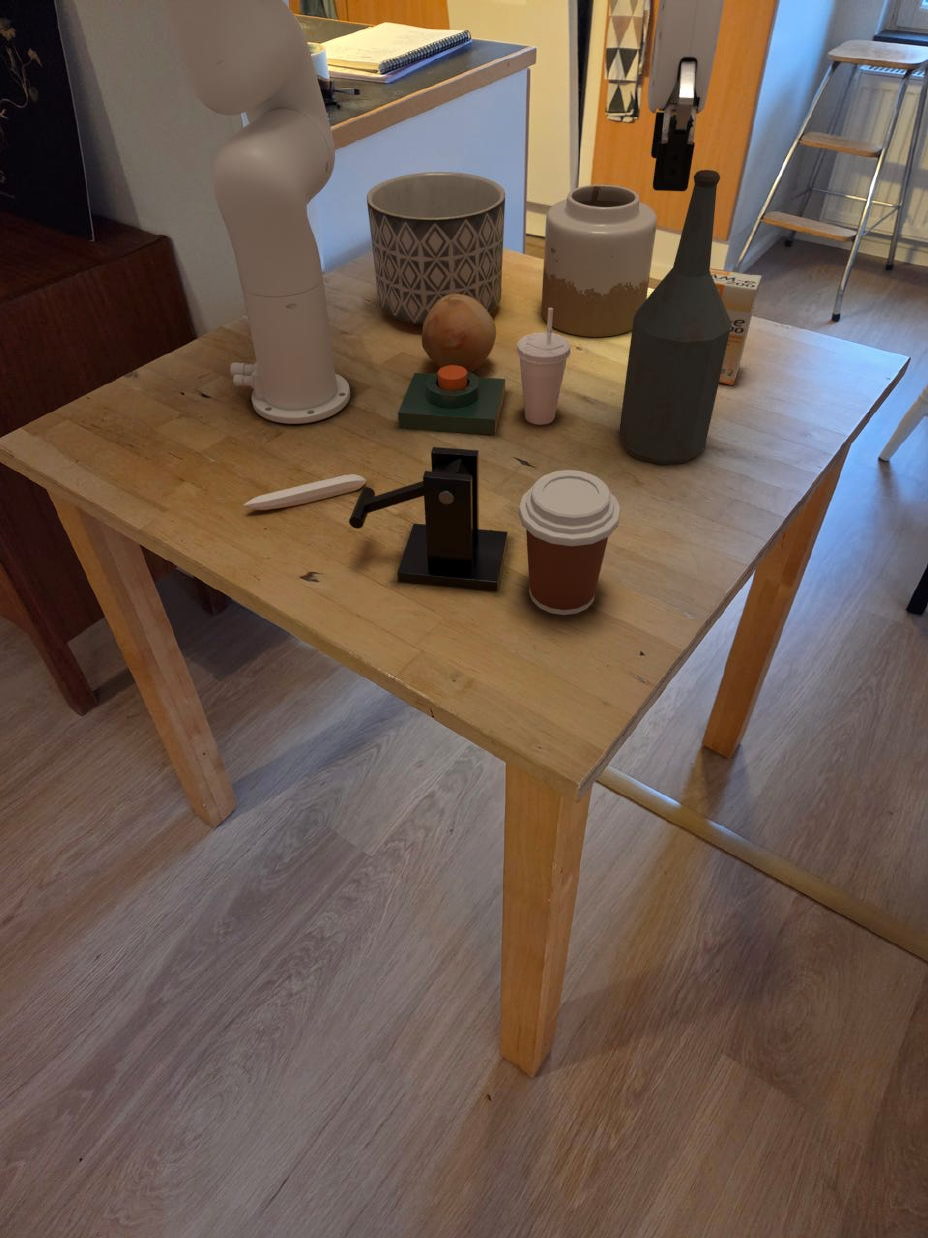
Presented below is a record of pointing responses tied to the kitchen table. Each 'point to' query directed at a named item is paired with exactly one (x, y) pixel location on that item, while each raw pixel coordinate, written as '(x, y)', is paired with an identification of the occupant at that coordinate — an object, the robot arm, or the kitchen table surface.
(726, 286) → the supplement box
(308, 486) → the pen
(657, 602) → the kitchen table surface
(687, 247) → the bottle
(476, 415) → the button block
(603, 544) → the coffee cup
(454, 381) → the button
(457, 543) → the bracket
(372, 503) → the lever
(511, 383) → the kitchen table surface
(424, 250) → the planter
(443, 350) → the onion
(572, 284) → the vase
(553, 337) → the smoothie
